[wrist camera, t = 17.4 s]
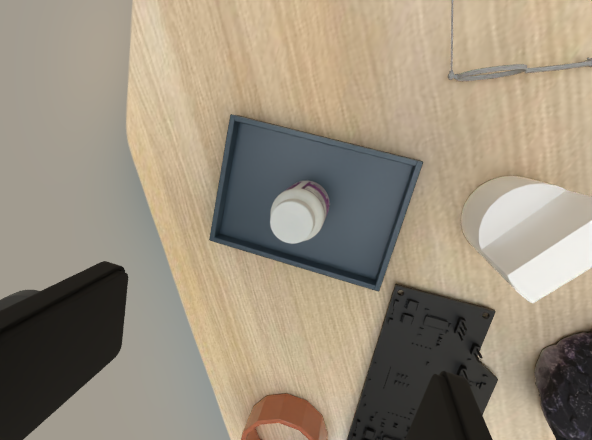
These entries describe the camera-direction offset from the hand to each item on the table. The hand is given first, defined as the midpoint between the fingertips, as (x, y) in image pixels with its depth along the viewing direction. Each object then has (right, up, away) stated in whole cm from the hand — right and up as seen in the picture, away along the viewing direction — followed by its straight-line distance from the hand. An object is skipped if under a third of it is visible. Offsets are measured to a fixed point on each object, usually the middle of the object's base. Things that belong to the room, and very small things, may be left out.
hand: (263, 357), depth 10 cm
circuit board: (+17, -17, +33) cm, 41 cm away
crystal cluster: (+34, -14, +29) cm, 47 cm away
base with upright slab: (+23, +4, +26) cm, 35 cm away
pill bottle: (+2, +6, +29) cm, 30 cm away
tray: (+2, +6, +30) cm, 31 cm away
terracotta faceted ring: (0, -26, +38) cm, 46 cm away
